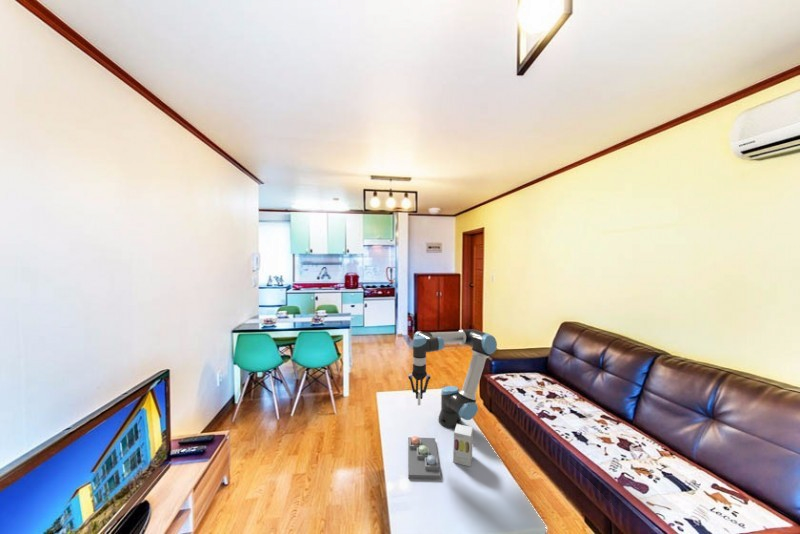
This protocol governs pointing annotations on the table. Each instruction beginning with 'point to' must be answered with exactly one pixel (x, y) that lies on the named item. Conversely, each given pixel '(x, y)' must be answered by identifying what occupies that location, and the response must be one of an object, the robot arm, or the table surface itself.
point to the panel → (422, 460)
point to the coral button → (414, 440)
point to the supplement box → (463, 445)
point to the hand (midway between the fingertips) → (419, 403)
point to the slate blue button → (431, 460)
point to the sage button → (422, 450)
